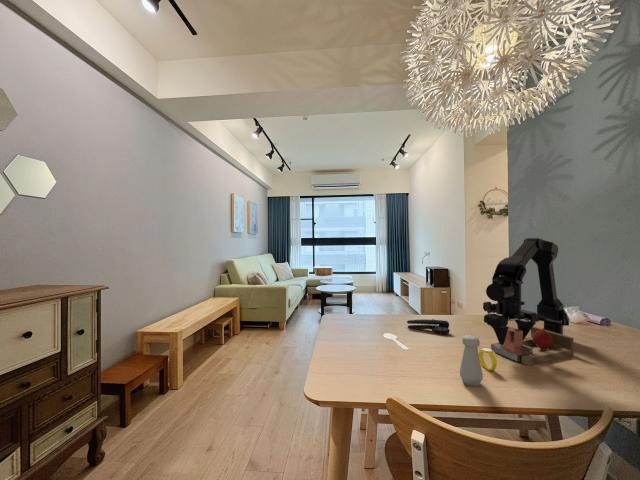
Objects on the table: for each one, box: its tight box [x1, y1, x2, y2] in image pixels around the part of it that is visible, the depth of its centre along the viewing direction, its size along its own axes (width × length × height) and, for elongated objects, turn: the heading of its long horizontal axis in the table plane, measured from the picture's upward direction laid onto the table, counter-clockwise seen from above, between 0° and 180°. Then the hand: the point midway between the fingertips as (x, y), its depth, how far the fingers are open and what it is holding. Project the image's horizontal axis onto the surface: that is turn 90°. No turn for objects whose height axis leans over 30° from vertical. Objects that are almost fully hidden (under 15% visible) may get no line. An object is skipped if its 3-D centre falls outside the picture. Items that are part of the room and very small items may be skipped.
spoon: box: [383, 332, 410, 351], centre depth 109 cm, size 5×18×1 cm, turn 11°
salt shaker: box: [458, 334, 484, 388], centre depth 77 cm, size 6×6×13 cm
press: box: [493, 325, 534, 362], centre depth 94 cm, size 7×8×9 cm
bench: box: [490, 326, 575, 366], centre depth 97 cm, size 22×13×6 cm, turn 108°
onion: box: [533, 327, 553, 351], centre depth 99 cm, size 6×6×8 cm
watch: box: [478, 347, 498, 372], centre depth 85 cm, size 6×3×6 cm, turn 9°
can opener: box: [406, 318, 451, 336], centre depth 121 cm, size 18×7×6 cm, turn 61°
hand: (511, 342), depth 94 cm, fingers open, 9 cm apart
